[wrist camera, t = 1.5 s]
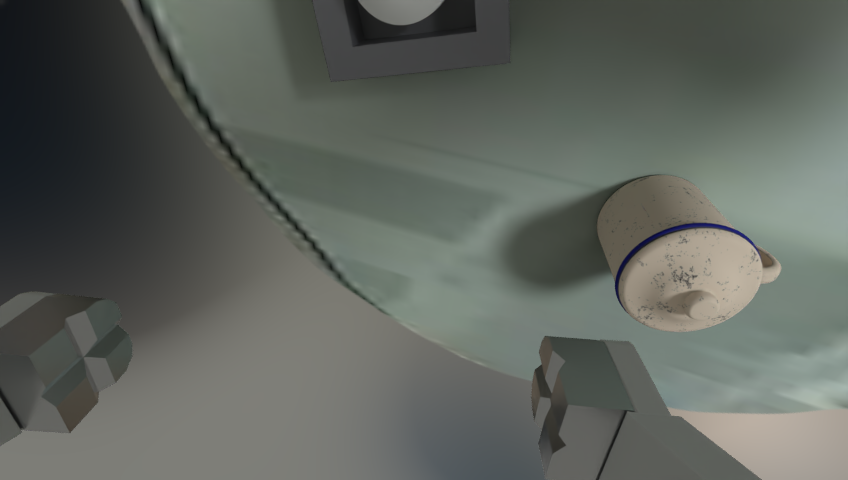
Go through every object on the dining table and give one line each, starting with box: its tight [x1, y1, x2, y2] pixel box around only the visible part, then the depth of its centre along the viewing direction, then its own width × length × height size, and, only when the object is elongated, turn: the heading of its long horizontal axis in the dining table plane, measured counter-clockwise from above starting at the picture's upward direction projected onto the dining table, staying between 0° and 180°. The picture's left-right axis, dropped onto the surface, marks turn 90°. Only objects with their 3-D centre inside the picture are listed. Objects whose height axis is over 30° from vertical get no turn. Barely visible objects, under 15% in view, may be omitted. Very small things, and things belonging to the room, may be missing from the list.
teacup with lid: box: [597, 175, 781, 332], centre depth 32 cm, size 12×9×12 cm
